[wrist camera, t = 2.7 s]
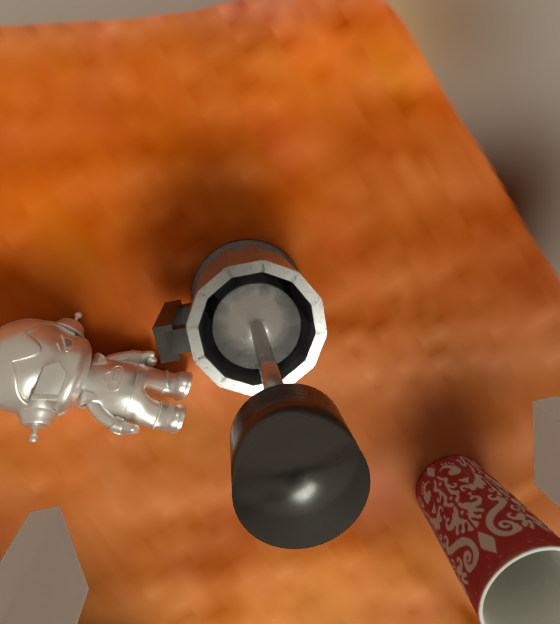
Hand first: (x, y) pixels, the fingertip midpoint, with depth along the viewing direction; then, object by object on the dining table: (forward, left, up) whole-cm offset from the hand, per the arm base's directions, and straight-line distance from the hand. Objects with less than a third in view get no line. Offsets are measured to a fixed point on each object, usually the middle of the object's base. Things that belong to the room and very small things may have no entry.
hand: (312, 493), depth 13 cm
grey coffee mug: (0, 0, -27) cm, 27 cm away
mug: (+17, -25, -27) cm, 41 cm away
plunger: (0, 0, -18) cm, 18 cm away
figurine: (-14, -4, -27) cm, 31 cm away
